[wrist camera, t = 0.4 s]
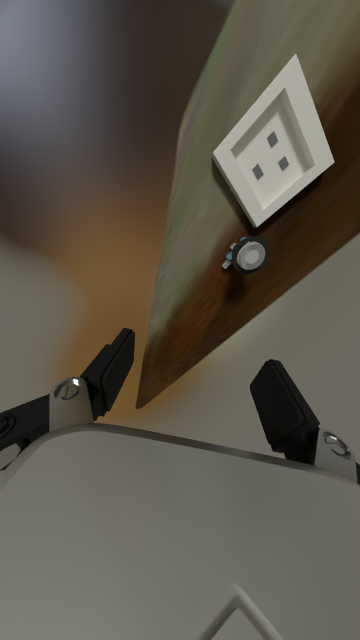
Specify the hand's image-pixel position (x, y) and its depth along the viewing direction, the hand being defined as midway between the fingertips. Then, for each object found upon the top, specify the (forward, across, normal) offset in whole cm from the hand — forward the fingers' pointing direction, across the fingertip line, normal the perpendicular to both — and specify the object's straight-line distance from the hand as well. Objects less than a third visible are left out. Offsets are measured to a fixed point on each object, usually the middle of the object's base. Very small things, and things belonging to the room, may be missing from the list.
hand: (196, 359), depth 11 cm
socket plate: (+27, -7, -19) cm, 34 cm away
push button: (+27, -7, -6) cm, 28 cm away
